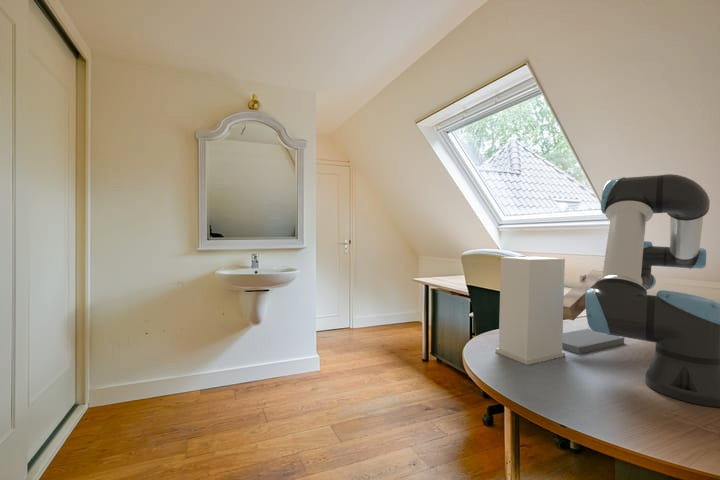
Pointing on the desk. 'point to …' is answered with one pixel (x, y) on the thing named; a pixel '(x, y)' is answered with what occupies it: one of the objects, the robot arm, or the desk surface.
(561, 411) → the desk surface
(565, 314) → the walnut bar
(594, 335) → the felt mat
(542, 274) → the stand
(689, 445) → the desk surface
